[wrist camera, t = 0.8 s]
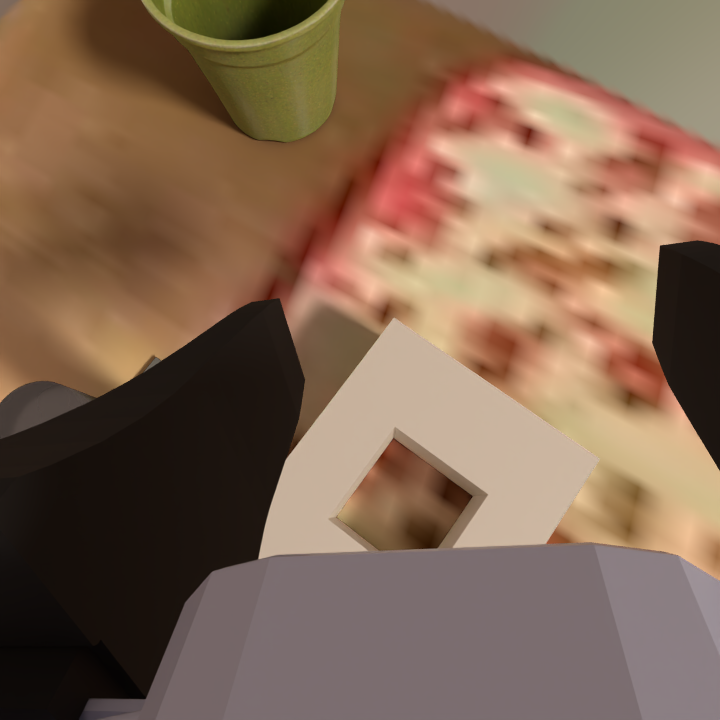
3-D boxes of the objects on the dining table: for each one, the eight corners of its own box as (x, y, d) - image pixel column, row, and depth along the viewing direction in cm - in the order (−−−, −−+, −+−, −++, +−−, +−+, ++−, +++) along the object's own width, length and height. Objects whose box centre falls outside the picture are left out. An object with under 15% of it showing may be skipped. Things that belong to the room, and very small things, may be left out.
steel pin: (164, 503, 26) (36, 501, 17) (117, 464, 27) (-33, 440, 17) (206, 450, 27) (105, 419, 17) (159, 413, 27) (36, 362, 18)
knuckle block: (418, 696, 24) (424, 732, 20) (238, 547, 26) (213, 555, 22) (568, 465, 26) (600, 458, 22) (392, 343, 28) (394, 317, 24)
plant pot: (166, 92, 32) (89, -53, 24) (295, 1, 34) (265, -167, 25) (265, 203, 30) (219, 87, 22) (399, 103, 32) (404, -44, 23)
